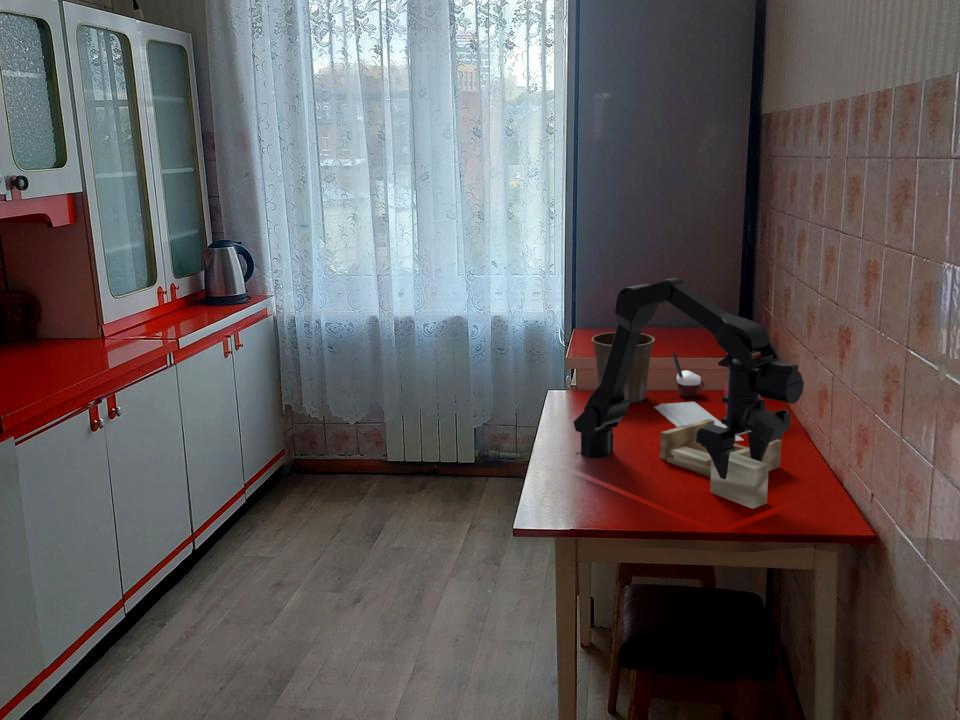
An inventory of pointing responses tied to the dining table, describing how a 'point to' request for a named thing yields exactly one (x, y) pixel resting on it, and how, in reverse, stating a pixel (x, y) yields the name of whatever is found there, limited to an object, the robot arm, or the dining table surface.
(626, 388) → the plant pot
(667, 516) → the dining table surface
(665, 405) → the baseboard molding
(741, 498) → the beige wooden block
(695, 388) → the cocoa
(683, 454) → the offcut stack
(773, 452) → the rack
